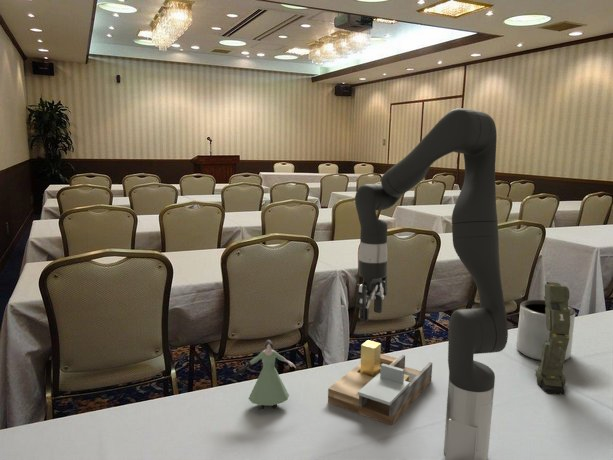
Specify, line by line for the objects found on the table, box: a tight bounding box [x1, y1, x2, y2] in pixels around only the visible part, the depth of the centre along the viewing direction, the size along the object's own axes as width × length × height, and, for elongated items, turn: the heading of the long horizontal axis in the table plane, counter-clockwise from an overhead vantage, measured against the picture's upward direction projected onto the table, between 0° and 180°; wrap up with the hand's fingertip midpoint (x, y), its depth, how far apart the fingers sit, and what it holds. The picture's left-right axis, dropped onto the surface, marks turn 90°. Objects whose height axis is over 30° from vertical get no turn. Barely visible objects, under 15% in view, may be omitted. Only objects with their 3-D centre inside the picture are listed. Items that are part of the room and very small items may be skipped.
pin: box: [360, 339, 382, 377], centre depth 138 cm, size 4×4×10 cm
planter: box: [515, 299, 576, 362], centre depth 160 cm, size 16×16×16 cm
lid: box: [358, 364, 410, 405], centre depth 125 cm, size 12×9×4 cm
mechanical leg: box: [534, 281, 570, 396], centre depth 139 cm, size 14×7×30 cm, turn 168°
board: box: [327, 353, 433, 426], centre depth 135 cm, size 27×18×6 cm, turn 146°
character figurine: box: [234, 339, 297, 411], centre depth 126 cm, size 16×8×18 cm, turn 100°
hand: (371, 316), depth 135 cm, fingers open, 8 cm apart
